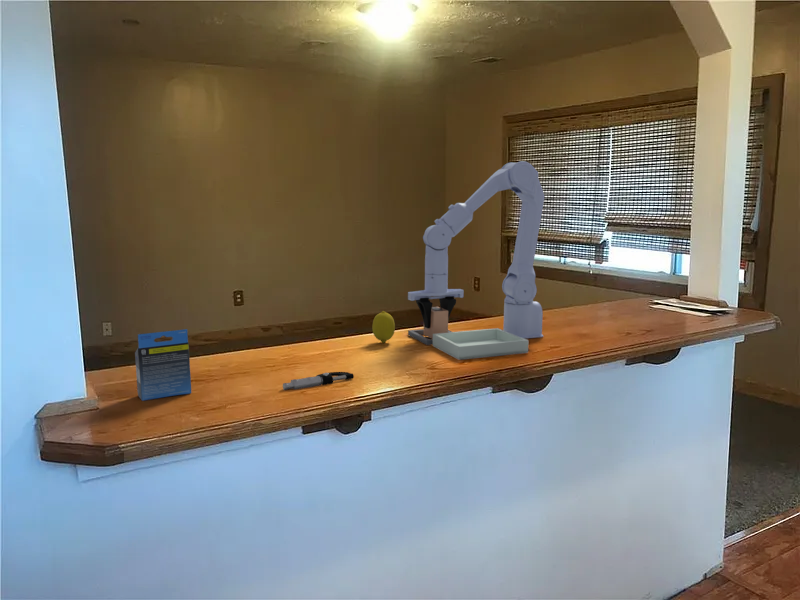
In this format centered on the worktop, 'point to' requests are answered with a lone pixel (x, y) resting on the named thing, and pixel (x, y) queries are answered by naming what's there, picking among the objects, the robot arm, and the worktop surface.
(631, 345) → the worktop surface
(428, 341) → the frame
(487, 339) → the parts tray
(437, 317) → the block
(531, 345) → the worktop surface
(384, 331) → the lemon
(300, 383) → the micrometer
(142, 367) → the label tape cartridge
